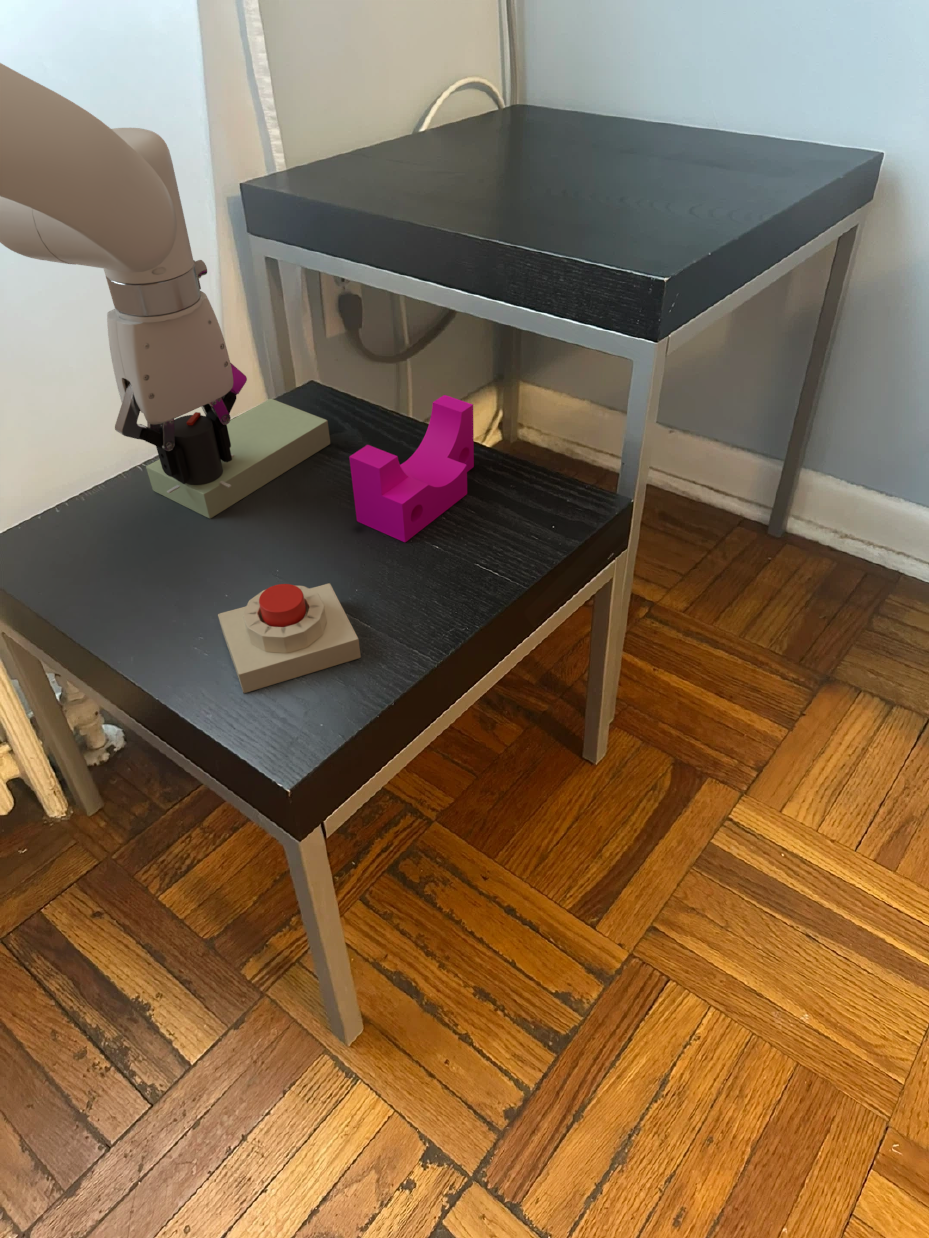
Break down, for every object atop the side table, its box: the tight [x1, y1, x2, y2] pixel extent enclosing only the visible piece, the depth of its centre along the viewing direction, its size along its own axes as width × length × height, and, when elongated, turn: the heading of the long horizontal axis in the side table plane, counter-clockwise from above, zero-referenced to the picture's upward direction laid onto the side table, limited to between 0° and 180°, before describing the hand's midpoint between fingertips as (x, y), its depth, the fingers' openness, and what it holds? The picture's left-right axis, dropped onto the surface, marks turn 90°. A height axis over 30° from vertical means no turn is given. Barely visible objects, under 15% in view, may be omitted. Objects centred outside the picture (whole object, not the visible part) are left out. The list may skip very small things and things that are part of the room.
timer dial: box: [174, 411, 223, 485], centre depth 88 cm, size 4×4×6 cm
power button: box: [259, 583, 306, 627], centre depth 72 cm, size 4×4×2 cm
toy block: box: [348, 394, 475, 543], centre depth 89 cm, size 15×6×8 cm, turn 144°
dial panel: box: [145, 398, 331, 519], centre depth 95 cm, size 20×10×3 cm, turn 144°
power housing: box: [217, 582, 362, 694], centre depth 74 cm, size 10×8×4 cm
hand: (199, 465), depth 90 cm, fingers closed on timer dial, 4 cm apart
